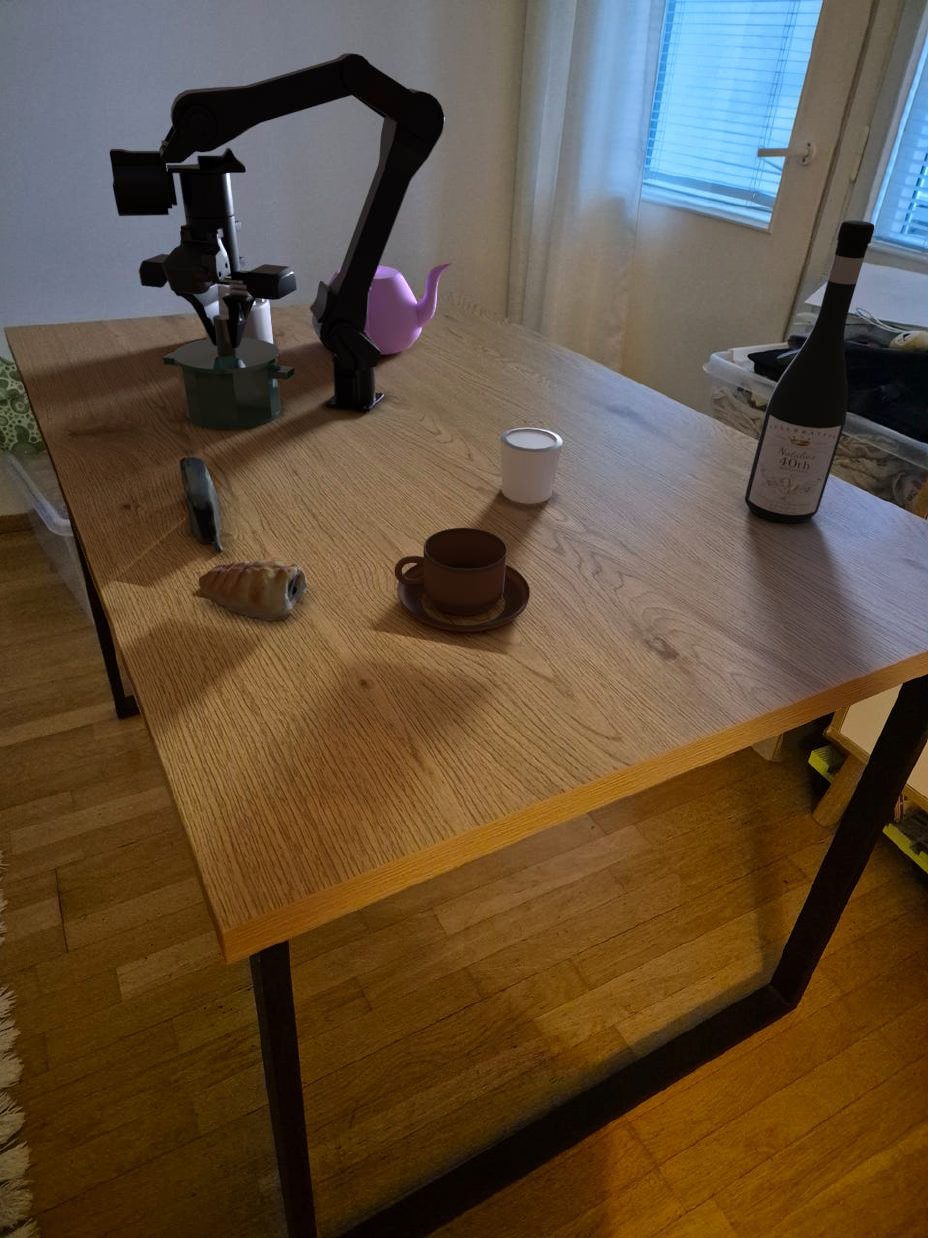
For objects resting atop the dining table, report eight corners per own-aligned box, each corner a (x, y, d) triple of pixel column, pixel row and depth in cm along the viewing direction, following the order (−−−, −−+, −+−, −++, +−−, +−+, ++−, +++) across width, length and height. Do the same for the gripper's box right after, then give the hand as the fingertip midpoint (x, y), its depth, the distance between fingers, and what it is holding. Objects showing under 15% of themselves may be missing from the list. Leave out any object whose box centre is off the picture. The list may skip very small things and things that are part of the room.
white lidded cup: (562, 489, 98) (569, 432, 94) (548, 514, 93) (554, 455, 89) (506, 479, 100) (510, 422, 96) (488, 503, 95) (492, 444, 91)
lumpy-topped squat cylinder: (266, 331, 145) (260, 278, 140) (279, 354, 135) (274, 298, 130) (203, 335, 142) (196, 281, 137) (213, 359, 132) (205, 302, 127)
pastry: (187, 610, 75) (180, 574, 73) (221, 573, 81) (216, 538, 79) (286, 626, 74) (283, 589, 72) (314, 587, 79) (311, 551, 77)
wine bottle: (814, 532, 92) (906, 233, 75) (739, 518, 94) (812, 224, 77) (816, 501, 98) (901, 219, 81) (746, 489, 100) (814, 211, 83)
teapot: (447, 370, 132) (449, 276, 124) (307, 364, 132) (301, 270, 124) (450, 329, 150) (453, 245, 142) (328, 324, 150) (323, 240, 142)
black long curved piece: (174, 454, 91) (191, 512, 80) (202, 451, 92) (223, 508, 81) (181, 496, 94) (199, 558, 82) (209, 492, 95) (230, 553, 83)
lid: (207, 341, 117) (201, 298, 114) (297, 352, 115) (293, 309, 111) (154, 371, 107) (145, 325, 103) (251, 384, 104) (245, 337, 101)
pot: (198, 389, 121) (190, 336, 117) (313, 404, 118) (309, 350, 114) (150, 419, 111) (139, 363, 107) (274, 437, 108) (268, 379, 104)
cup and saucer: (426, 657, 71) (426, 595, 68) (379, 585, 80) (378, 527, 76) (551, 627, 75) (558, 568, 72) (494, 562, 84) (497, 507, 81)
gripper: (99, 219, 96) (126, 356, 105) (249, 233, 92) (264, 373, 101) (154, 204, 105) (174, 331, 114) (293, 216, 101) (303, 347, 110)
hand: (226, 346), depth 110 cm, fingers closed on lid, 2 cm apart
